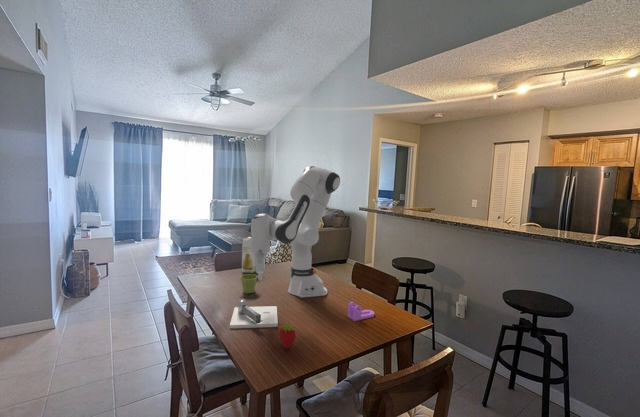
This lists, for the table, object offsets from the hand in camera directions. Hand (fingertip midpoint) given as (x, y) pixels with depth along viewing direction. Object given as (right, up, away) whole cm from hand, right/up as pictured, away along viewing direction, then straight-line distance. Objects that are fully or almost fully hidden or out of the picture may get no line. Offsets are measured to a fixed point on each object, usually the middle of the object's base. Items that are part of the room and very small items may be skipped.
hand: (260, 276), depth 143 cm
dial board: (-1, -17, -7) cm, 19 cm away
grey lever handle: (-3, -16, -11) cm, 20 cm away
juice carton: (-20, -11, +61) cm, 65 cm away
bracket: (+49, -20, 0) cm, 52 cm away
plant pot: (-12, -14, +25) cm, 31 cm away
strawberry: (+16, -21, -30) cm, 40 cm away
